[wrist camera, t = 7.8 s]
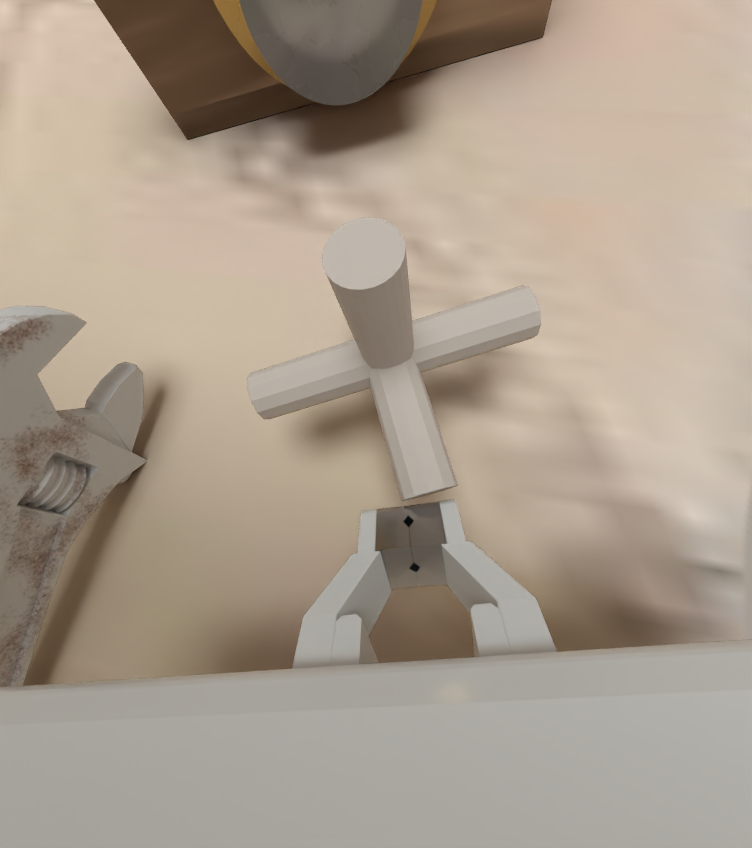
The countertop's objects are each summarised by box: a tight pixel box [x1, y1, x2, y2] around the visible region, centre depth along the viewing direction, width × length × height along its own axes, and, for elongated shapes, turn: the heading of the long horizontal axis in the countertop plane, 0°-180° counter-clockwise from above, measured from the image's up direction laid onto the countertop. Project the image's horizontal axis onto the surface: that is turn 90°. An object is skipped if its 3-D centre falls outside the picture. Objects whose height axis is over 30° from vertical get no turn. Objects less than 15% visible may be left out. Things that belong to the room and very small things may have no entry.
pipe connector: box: [247, 218, 541, 501], centre depth 12 cm, size 10×10×10 cm
